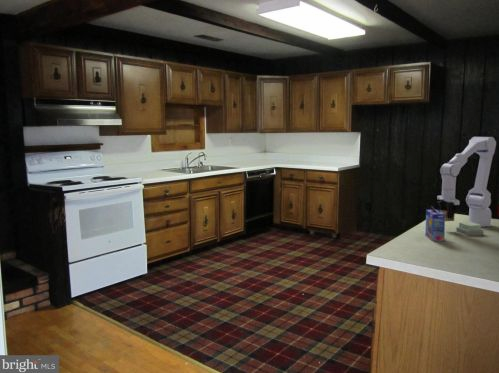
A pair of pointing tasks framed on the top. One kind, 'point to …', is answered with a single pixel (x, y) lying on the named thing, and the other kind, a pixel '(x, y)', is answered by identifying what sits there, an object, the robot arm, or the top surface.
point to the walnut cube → (447, 215)
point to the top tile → (470, 226)
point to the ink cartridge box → (435, 225)
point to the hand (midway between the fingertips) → (447, 217)
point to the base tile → (469, 232)
